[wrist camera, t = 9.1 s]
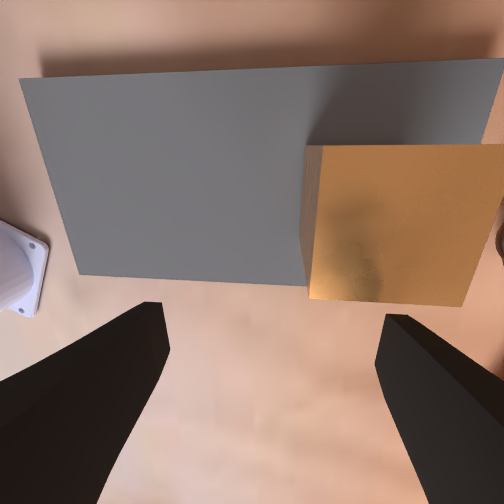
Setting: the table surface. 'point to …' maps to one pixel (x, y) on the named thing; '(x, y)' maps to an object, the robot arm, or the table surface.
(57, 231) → the table surface
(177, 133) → the mat
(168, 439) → the table surface
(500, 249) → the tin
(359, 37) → the table surface
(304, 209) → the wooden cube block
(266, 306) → the table surface
